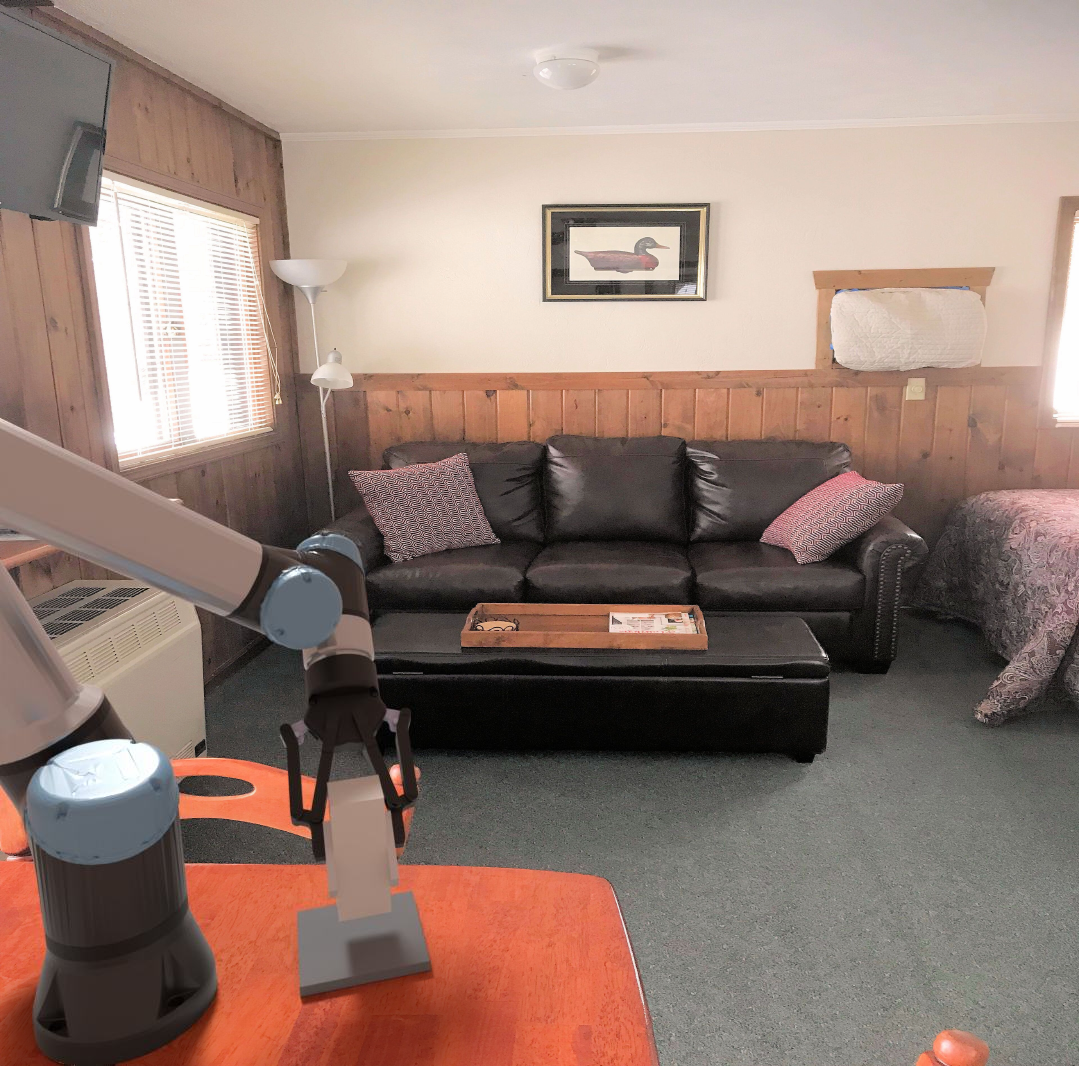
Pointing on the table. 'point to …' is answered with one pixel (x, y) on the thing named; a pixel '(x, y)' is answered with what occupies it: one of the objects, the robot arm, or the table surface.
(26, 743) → the robot arm
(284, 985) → the table surface
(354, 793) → the white rectangular block
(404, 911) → the mat
